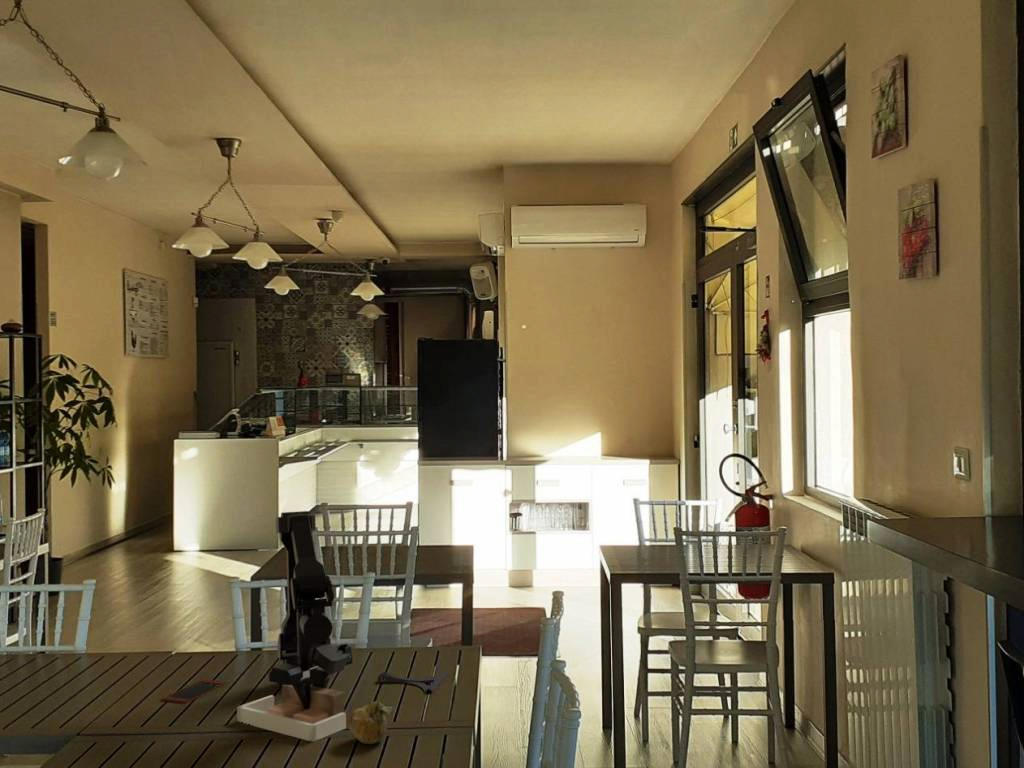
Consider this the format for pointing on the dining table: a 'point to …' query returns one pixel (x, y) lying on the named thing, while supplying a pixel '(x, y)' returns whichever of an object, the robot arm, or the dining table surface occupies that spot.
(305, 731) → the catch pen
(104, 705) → the dining table surface
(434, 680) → the bracket
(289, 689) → the bar
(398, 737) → the dining table surface
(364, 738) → the onion
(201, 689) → the smartphone
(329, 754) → the dining table surface
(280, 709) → the tile
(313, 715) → the tile
